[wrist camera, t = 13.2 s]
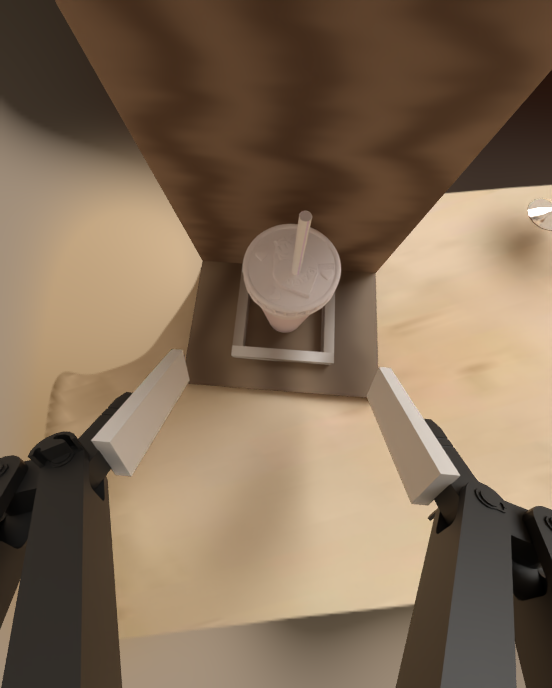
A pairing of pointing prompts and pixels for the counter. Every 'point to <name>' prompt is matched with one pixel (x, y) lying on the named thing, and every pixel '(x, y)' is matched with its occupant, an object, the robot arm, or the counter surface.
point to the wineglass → (541, 212)
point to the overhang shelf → (307, 145)
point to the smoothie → (291, 272)
